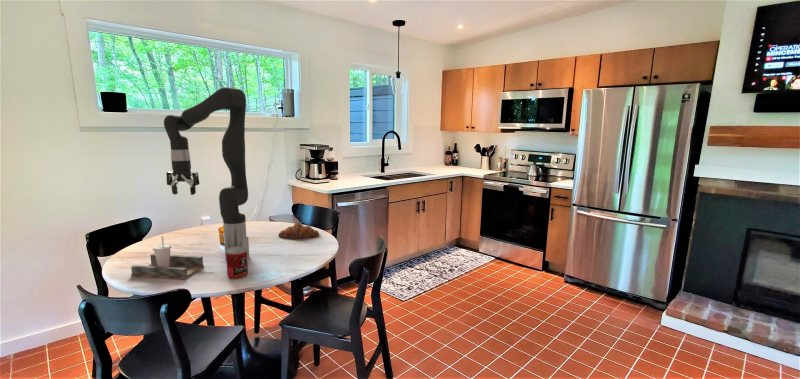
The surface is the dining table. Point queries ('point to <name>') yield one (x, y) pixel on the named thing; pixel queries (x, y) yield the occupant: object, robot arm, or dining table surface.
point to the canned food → (237, 262)
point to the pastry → (298, 232)
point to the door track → (170, 268)
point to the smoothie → (162, 254)
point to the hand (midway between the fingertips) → (184, 194)
